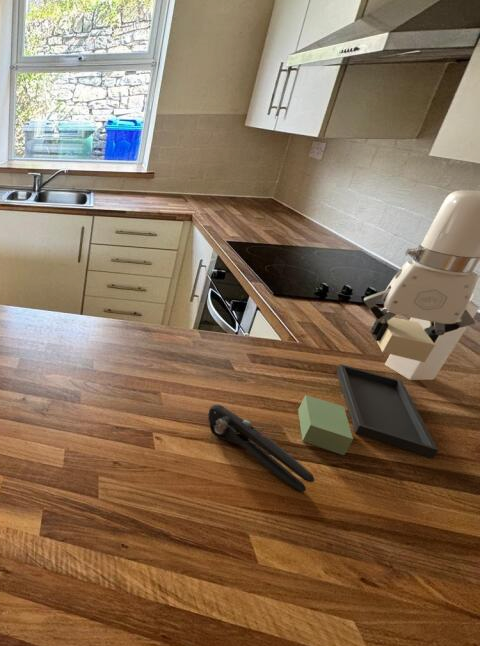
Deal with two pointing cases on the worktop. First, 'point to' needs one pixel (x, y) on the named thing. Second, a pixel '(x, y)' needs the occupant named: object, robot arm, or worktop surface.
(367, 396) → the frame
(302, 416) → the pad
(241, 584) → the worktop surface
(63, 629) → the worktop surface
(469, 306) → the milk
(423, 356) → the pad
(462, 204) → the robot arm
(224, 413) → the can opener
